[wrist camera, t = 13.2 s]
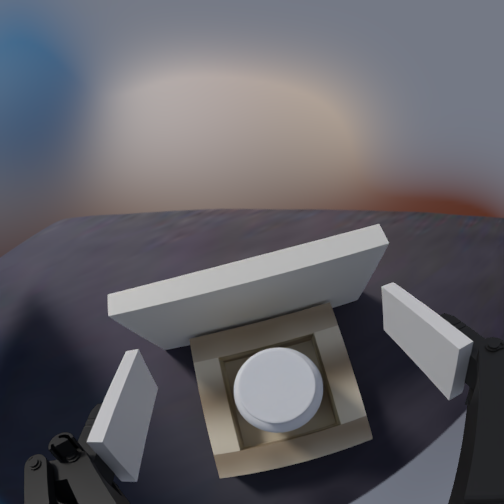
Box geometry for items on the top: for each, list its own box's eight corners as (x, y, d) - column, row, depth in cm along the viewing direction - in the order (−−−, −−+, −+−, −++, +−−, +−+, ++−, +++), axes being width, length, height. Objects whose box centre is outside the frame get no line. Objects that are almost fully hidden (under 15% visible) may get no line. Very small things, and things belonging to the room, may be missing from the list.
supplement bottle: (317, 366, 23) (336, 341, 15) (309, 429, 21) (323, 443, 12) (252, 359, 24) (233, 329, 16) (242, 421, 22) (215, 429, 13)
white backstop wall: (357, 299, 26) (388, 243, 18) (165, 350, 26) (108, 316, 17) (352, 285, 27) (379, 224, 18) (162, 334, 27) (107, 294, 18)
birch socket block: (363, 435, 20) (373, 438, 18) (227, 470, 20) (219, 478, 17) (325, 313, 26) (330, 302, 23) (199, 346, 26) (189, 338, 23)
